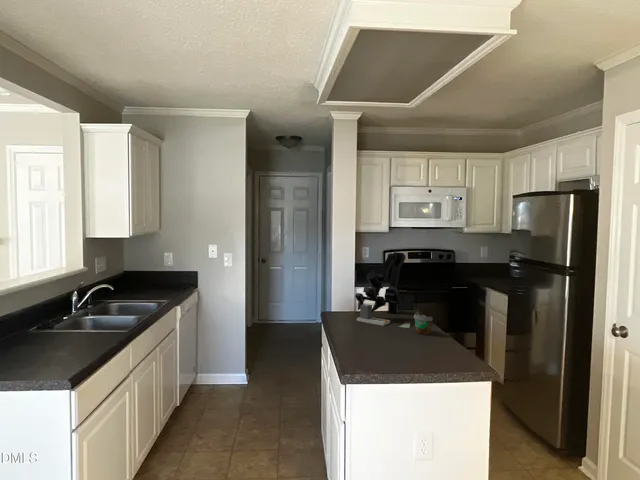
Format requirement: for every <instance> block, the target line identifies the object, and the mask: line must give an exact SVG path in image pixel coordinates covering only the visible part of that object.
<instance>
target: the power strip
mask: <svg viewBox="0 0 640 480" xmlns="http://www.w3.org/2000/svg"><path fill="white" fill-rule="evenodd" d="M356 321H358V322H363V323H367V324H373V325H378V326H386V325H388V324H390V323H391V320H389V319H385V318H381V317H374V316H372V318H370V319H362V318H360V316H359V317H357V318H356Z"/></svg>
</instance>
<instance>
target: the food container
mask: <svg viewBox="0 0 640 480" xmlns="http://www.w3.org/2000/svg"><path fill="white" fill-rule="evenodd" d="M413 319H414V323H415V324H414V326H415V334H418V335H421V336H431V332H432V325H433V324H432V323H433V316H427V315H425V314H421V313H420V312H418V311H417V312H414V315H413Z"/></svg>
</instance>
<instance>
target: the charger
mask: <svg viewBox="0 0 640 480" xmlns="http://www.w3.org/2000/svg"><path fill="white" fill-rule="evenodd" d="M372 308H373V305H372V304H367V303H364V304H363V305H360V309H359V317H360V318H362V319H370V318H372V317H373V315H372V314H373V312H371V311H372Z"/></svg>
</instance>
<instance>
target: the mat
mask: <svg viewBox="0 0 640 480" xmlns="http://www.w3.org/2000/svg"><path fill="white" fill-rule="evenodd" d="M410 326H411V323H407V322H406V323H405V322H403V323H401V324H399V325H396V326H395V328H402V329H410V328H411V327H410Z"/></svg>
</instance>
